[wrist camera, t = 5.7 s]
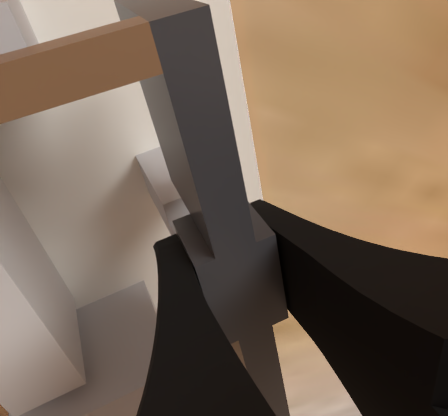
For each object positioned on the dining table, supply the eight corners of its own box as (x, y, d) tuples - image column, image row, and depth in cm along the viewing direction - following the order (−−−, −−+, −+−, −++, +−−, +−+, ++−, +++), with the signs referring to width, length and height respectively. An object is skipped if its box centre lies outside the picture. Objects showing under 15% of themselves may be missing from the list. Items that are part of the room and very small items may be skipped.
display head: (-33, 391, 19) (-54, 539, 14) (-397, 43, 10) (-811, 124, 5) (266, 257, 23) (332, 339, 18) (202, -95, 13) (303, -128, 8)
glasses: (-26, 452, 15) (-45, 586, 12) (-409, 139, 7) (-744, 274, 4) (254, 326, 17) (303, 410, 14) (174, -17, 10) (238, -4, 6)
